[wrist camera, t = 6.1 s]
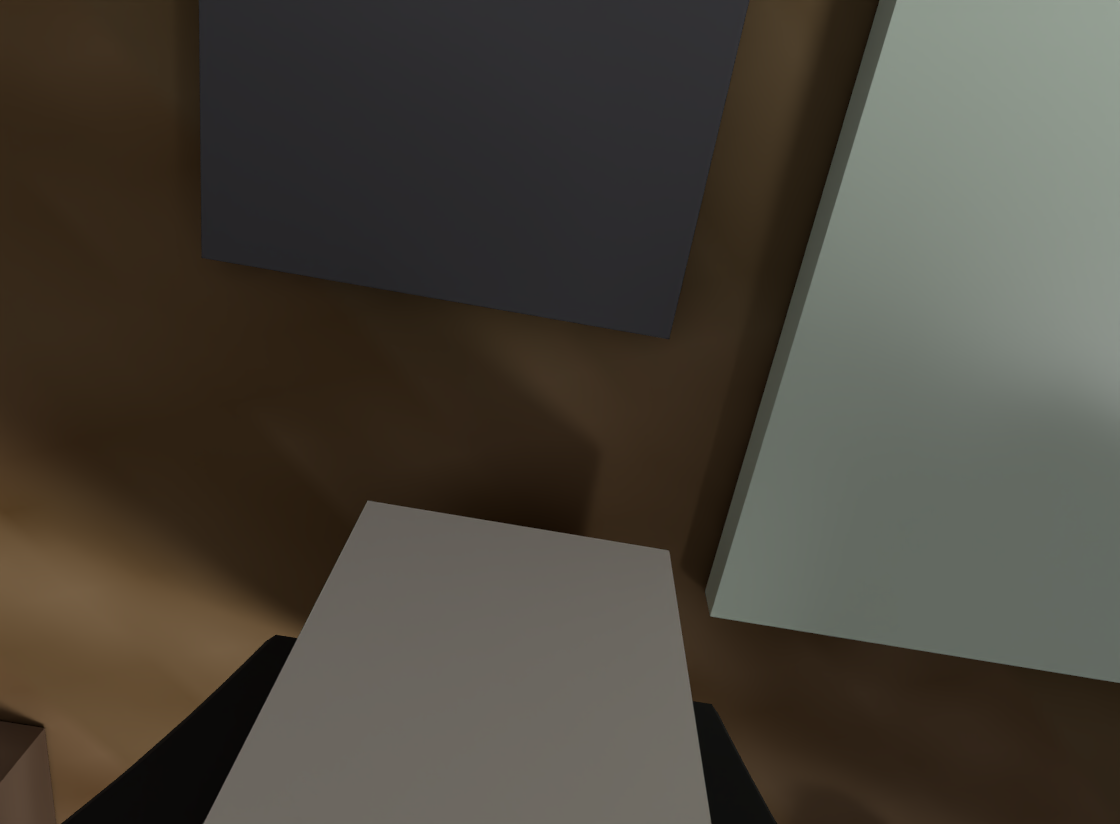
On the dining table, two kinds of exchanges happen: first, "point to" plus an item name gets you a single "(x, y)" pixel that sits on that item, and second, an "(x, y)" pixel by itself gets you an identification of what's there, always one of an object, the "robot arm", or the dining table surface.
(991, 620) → the pad
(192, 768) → the robot arm
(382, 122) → the trap tile
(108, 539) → the dining table surface
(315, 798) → the cream block
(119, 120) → the dining table surface
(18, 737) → the brown u-shaped bracket
